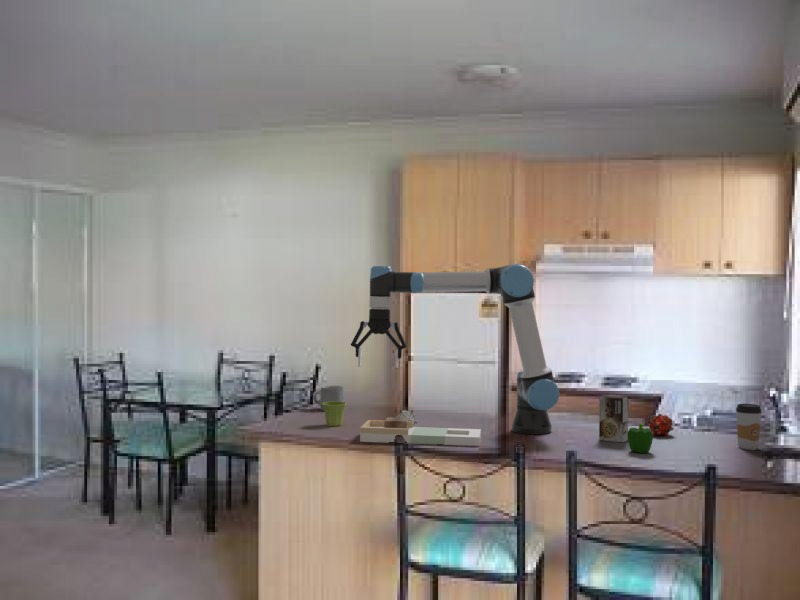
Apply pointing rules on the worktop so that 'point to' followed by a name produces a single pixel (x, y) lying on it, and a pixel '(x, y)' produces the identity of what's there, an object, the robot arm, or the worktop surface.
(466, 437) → the deck
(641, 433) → the bell pepper
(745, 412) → the coffee cup
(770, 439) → the worktop surface
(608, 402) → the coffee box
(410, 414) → the game die
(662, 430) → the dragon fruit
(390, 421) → the walnut block
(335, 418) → the plant pot
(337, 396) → the coffee mug
